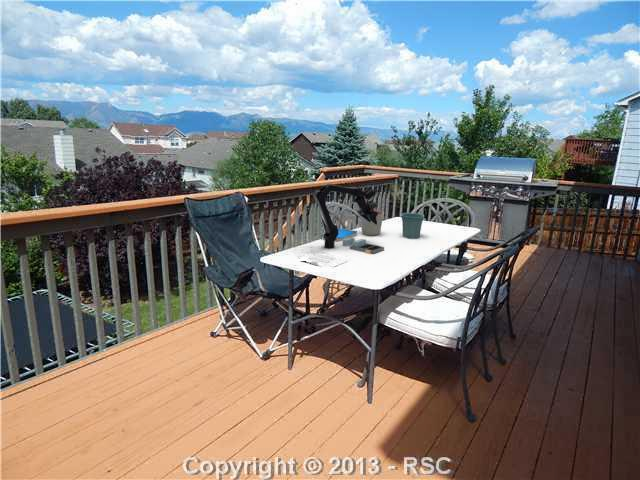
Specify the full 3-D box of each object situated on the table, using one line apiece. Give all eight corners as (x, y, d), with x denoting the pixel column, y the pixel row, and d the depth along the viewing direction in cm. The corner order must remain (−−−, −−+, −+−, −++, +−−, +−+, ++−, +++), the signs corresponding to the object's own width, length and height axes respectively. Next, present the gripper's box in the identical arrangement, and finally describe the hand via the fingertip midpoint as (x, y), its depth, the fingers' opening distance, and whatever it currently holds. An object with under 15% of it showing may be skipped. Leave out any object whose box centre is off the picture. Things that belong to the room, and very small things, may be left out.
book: (357, 230, 299) (342, 237, 278) (357, 236, 300) (342, 243, 279) (336, 228, 307) (320, 234, 286) (336, 233, 308) (320, 240, 287)
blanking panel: (346, 247, 267) (346, 240, 266) (342, 247, 269) (342, 239, 267) (354, 245, 273) (354, 238, 272) (350, 244, 275) (351, 237, 274)
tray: (313, 253, 256) (313, 247, 255) (350, 263, 240) (350, 257, 239) (291, 260, 241) (291, 254, 240) (330, 271, 225) (330, 265, 224)
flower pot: (421, 234, 305) (422, 213, 301) (424, 239, 289) (426, 217, 285) (398, 233, 306) (400, 212, 302) (400, 239, 290) (402, 216, 286)
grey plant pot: (384, 237, 295) (385, 208, 290) (359, 237, 295) (360, 208, 290) (381, 231, 312) (382, 204, 307) (357, 231, 313) (358, 204, 308)
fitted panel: (357, 249, 258) (357, 242, 257) (353, 248, 260) (353, 241, 259) (365, 246, 265) (365, 239, 264) (361, 246, 267) (362, 238, 266)
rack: (372, 256, 248) (373, 251, 247) (348, 250, 260) (348, 245, 259) (384, 251, 258) (384, 247, 257) (360, 246, 270) (360, 242, 269)
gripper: (379, 199, 257) (389, 218, 264) (365, 195, 274) (376, 213, 280) (365, 209, 256) (376, 228, 262) (352, 204, 273) (363, 223, 279)
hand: (373, 223), depth 271 cm, fingers open, 9 cm apart
